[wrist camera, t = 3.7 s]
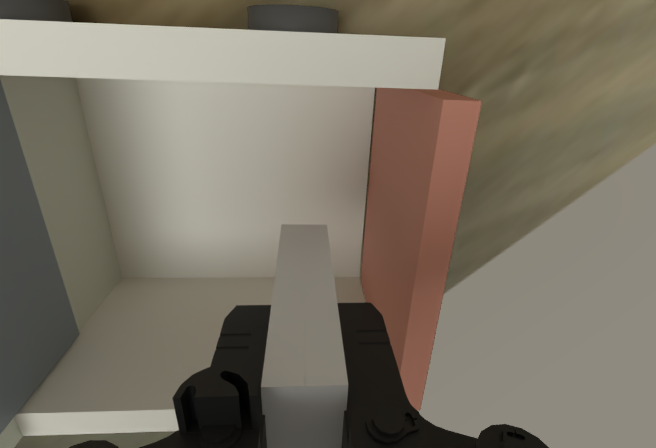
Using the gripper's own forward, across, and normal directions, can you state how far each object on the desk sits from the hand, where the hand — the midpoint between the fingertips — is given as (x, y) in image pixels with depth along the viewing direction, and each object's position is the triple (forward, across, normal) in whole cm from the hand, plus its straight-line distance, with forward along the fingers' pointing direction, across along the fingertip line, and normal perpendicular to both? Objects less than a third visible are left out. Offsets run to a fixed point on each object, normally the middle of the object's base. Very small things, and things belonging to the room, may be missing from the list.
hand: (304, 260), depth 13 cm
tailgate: (+8, -4, 0) cm, 9 cm away
